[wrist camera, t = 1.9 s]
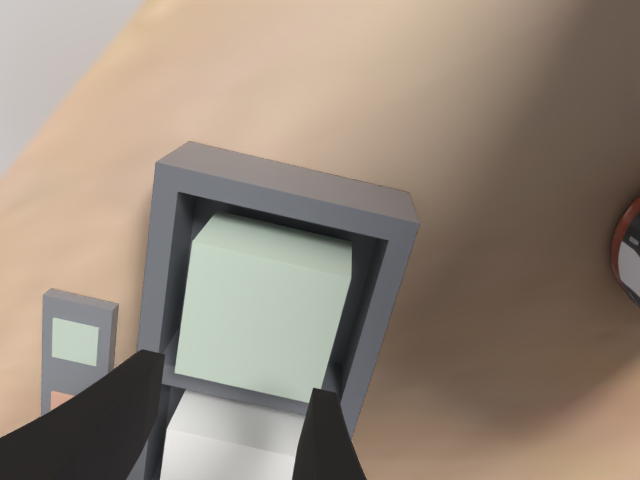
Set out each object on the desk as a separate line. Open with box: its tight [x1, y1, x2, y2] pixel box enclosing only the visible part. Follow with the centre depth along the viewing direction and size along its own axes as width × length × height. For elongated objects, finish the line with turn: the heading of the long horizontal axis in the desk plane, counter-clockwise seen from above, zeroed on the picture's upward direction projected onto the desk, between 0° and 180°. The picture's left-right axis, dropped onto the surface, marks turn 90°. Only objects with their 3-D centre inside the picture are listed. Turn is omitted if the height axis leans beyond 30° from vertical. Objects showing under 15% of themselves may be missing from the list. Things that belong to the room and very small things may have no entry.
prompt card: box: [41, 289, 118, 416], centre depth 23 cm, size 3×8×1 cm, turn 168°
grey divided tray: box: [126, 141, 420, 480], centre depth 22 cm, size 9×24×4 cm, turn 167°
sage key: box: [175, 211, 352, 403], centre depth 18 cm, size 5×5×3 cm
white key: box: [160, 389, 305, 480], centre depth 21 cm, size 5×5×3 cm
